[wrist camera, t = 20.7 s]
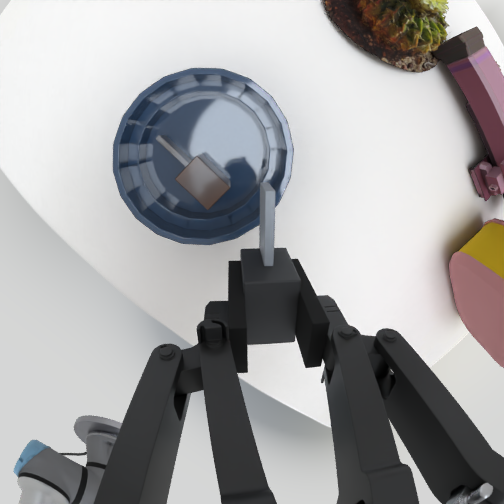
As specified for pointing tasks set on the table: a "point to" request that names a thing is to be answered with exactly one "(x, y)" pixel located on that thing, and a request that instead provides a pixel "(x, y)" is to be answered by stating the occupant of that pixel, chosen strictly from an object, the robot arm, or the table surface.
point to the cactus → (394, 29)
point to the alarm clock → (482, 287)
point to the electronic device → (480, 103)
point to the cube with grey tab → (269, 282)
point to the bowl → (202, 142)
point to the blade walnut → (198, 175)
